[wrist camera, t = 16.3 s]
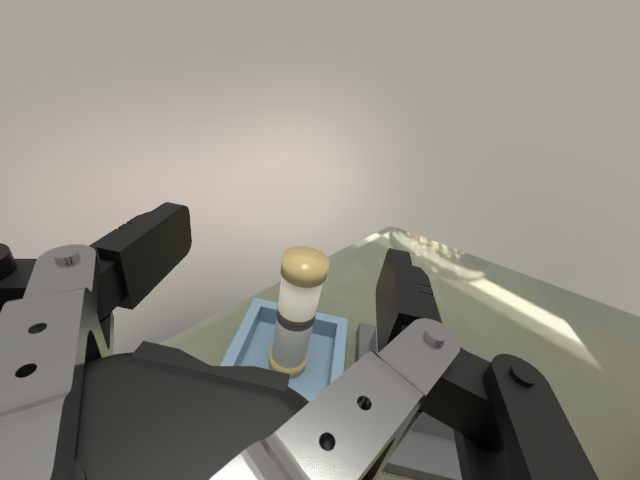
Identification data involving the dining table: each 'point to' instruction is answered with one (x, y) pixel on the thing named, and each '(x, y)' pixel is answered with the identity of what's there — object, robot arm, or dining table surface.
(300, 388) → the parts tray
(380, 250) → the dining table surface
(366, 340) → the block
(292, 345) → the capped white cylinder
